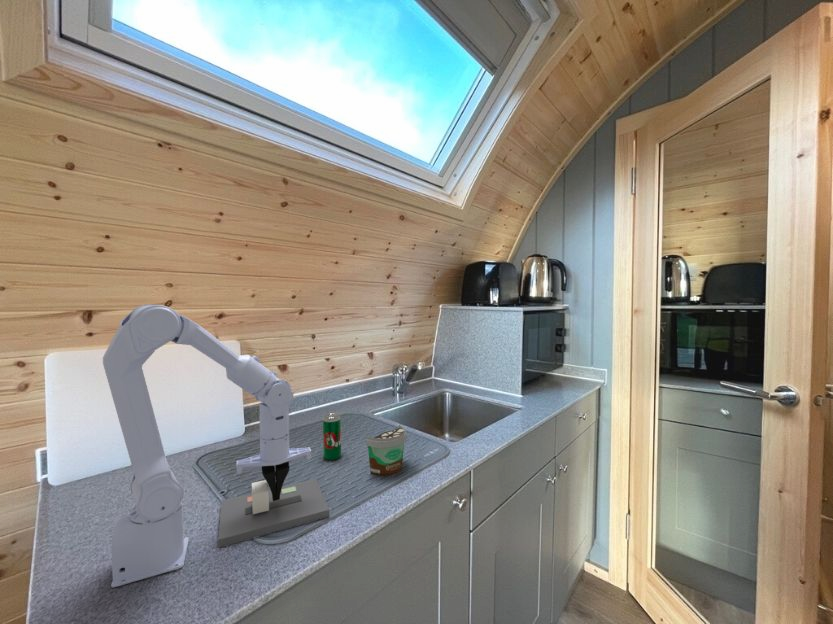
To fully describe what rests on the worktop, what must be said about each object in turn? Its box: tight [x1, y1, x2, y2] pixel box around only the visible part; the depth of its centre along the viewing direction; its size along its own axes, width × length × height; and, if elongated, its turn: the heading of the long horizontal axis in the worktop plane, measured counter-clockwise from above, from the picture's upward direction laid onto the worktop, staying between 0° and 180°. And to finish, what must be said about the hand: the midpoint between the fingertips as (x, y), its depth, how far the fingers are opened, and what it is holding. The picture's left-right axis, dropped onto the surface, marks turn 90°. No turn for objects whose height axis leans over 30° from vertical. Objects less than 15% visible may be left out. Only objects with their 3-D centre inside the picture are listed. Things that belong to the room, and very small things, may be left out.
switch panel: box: [217, 478, 330, 548], centre depth 75 cm, size 20×14×2 cm
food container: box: [365, 424, 408, 477], centre depth 92 cm, size 12×6×10 cm, turn 137°
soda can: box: [322, 412, 342, 461], centre depth 100 cm, size 5×5×12 cm
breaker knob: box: [251, 479, 269, 514], centre depth 74 cm, size 3×5×4 cm, turn 27°
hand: (275, 498), depth 75 cm, fingers closed
